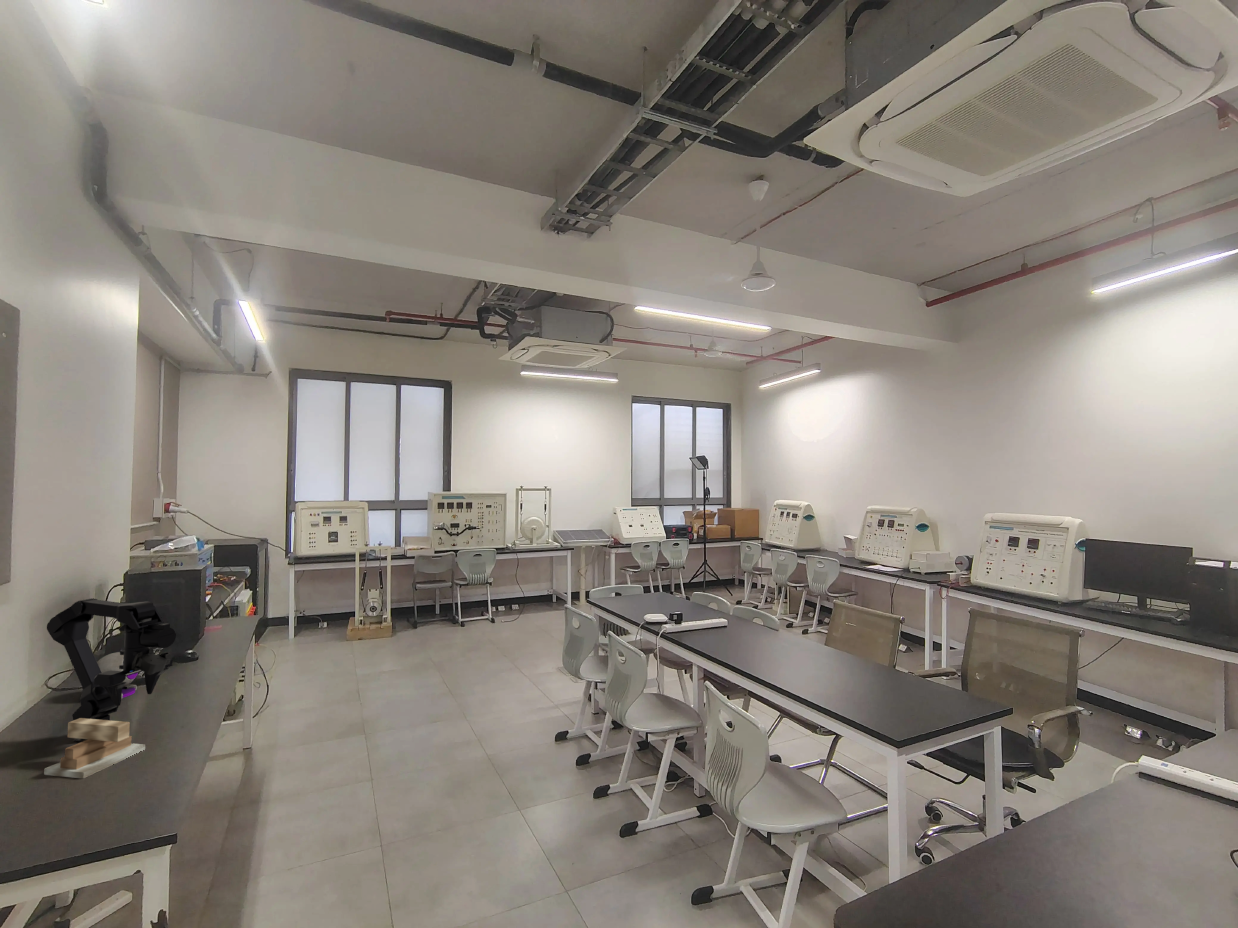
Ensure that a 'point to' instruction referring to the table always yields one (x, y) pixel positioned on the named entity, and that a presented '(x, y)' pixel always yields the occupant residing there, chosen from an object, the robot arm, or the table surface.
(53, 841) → the table surface
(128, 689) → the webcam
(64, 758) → the ridge stand
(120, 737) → the light wooden block
